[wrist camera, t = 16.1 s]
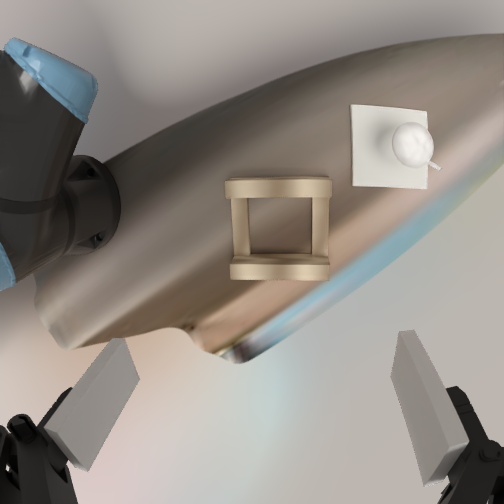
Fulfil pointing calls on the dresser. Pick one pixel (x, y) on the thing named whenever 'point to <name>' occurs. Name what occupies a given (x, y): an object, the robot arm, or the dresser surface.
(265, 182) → the pocket holder
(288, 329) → the dresser surface
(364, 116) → the pad
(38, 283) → the dresser surface
